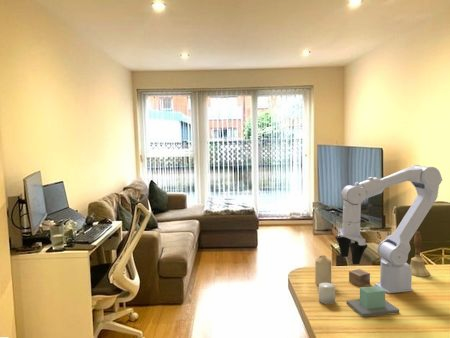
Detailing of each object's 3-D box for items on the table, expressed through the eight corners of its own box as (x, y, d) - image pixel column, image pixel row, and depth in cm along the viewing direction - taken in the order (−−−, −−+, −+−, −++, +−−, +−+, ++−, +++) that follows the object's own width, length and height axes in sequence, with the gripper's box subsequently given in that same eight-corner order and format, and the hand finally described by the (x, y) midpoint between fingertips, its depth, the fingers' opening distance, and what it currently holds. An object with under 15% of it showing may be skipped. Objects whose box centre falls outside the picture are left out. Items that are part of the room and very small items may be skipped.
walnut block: (359, 279, 136) (359, 268, 135) (369, 284, 131) (369, 273, 131) (348, 281, 133) (349, 271, 133) (359, 286, 129) (359, 275, 129)
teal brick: (377, 301, 115) (377, 285, 114) (385, 307, 111) (385, 290, 110) (359, 303, 114) (359, 287, 113) (366, 309, 110) (367, 292, 109)
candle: (331, 287, 129) (332, 259, 128) (315, 286, 130) (315, 258, 129) (330, 281, 134) (330, 254, 133) (315, 280, 135) (315, 253, 134)
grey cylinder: (330, 296, 121) (330, 282, 121) (337, 303, 116) (337, 288, 116) (316, 298, 120) (316, 283, 120) (322, 304, 115) (323, 289, 115)
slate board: (381, 300, 118) (381, 297, 118) (399, 312, 109) (399, 309, 109) (346, 303, 116) (346, 300, 116) (362, 317, 107) (362, 313, 107)
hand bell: (401, 272, 141) (402, 232, 140) (410, 267, 147) (411, 228, 145) (425, 278, 135) (426, 236, 134) (433, 272, 141) (434, 231, 139)
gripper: (330, 216, 131) (329, 254, 132) (351, 226, 116) (350, 268, 117) (348, 216, 132) (347, 253, 133) (371, 225, 118) (370, 266, 119)
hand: (350, 260), depth 125 cm, fingers open, 7 cm apart
